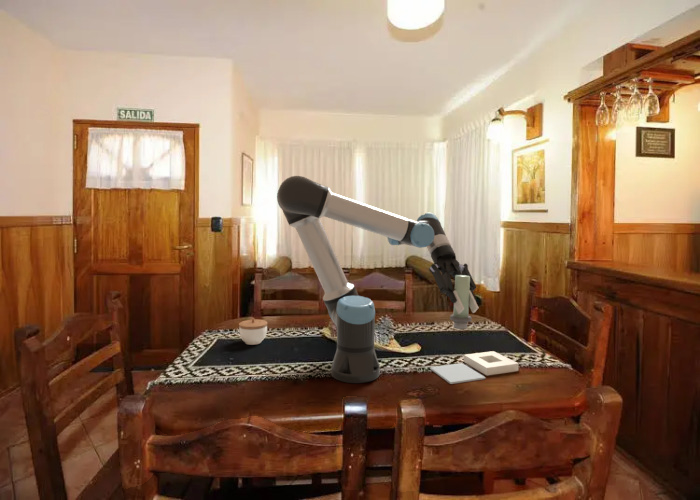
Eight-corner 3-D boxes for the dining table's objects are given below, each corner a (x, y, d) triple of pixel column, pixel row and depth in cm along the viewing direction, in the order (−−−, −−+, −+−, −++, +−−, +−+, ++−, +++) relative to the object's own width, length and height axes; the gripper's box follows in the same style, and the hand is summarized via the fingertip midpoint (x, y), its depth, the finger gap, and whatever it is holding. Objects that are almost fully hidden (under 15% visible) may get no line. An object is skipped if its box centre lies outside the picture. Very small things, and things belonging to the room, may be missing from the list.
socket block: (486, 375, 119) (486, 367, 119) (463, 362, 131) (463, 354, 130) (518, 371, 123) (518, 363, 123) (493, 358, 134) (493, 351, 134)
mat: (450, 384, 113) (450, 382, 113) (430, 369, 124) (430, 367, 124) (485, 379, 117) (485, 377, 117) (462, 364, 128) (462, 363, 128)
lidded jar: (271, 338, 156) (270, 315, 155) (262, 347, 145) (261, 322, 144) (245, 337, 157) (244, 314, 156) (234, 346, 146) (234, 322, 145)
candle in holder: (457, 330, 116) (459, 277, 115) (445, 325, 122) (447, 274, 121) (475, 329, 118) (477, 277, 117) (462, 323, 124) (465, 274, 123)
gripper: (458, 258, 136) (486, 315, 121) (413, 258, 130) (438, 319, 116) (468, 243, 130) (498, 302, 116) (422, 243, 125) (448, 305, 110)
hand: (468, 310), depth 116 cm, fingers closed on candle in holder, 4 cm apart
